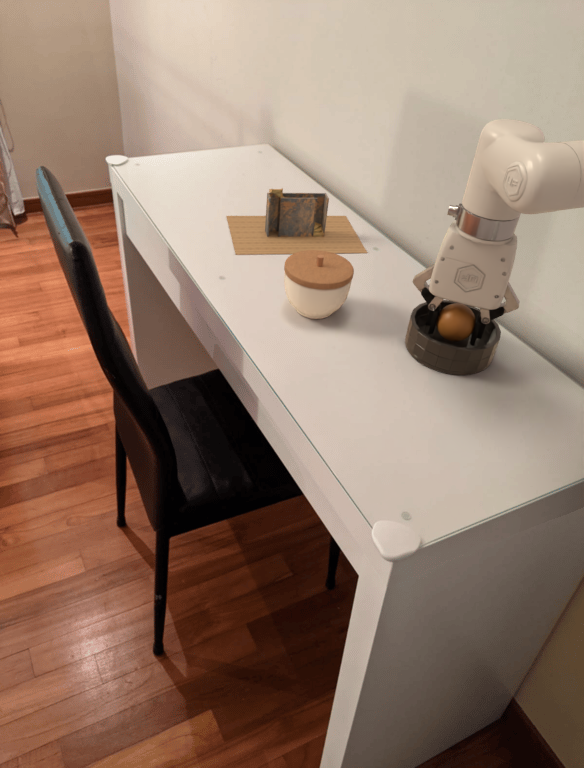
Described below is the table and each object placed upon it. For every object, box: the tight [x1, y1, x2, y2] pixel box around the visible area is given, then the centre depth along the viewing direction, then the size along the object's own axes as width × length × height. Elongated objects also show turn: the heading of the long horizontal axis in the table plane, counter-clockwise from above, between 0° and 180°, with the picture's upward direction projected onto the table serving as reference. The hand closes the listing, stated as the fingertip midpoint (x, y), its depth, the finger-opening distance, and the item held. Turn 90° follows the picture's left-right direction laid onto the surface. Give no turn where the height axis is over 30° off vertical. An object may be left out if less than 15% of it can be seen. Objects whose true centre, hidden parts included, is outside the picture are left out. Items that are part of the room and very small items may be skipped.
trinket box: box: [283, 250, 355, 320], centre depth 96 cm, size 11×11×9 cm
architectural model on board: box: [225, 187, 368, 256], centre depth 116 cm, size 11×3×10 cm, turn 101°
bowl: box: [404, 299, 502, 376], centre depth 92 cm, size 13×13×4 cm
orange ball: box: [436, 303, 476, 341], centre depth 90 cm, size 6×6×6 cm
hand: (452, 334), depth 91 cm, fingers closed on orange ball, 5 cm apart
